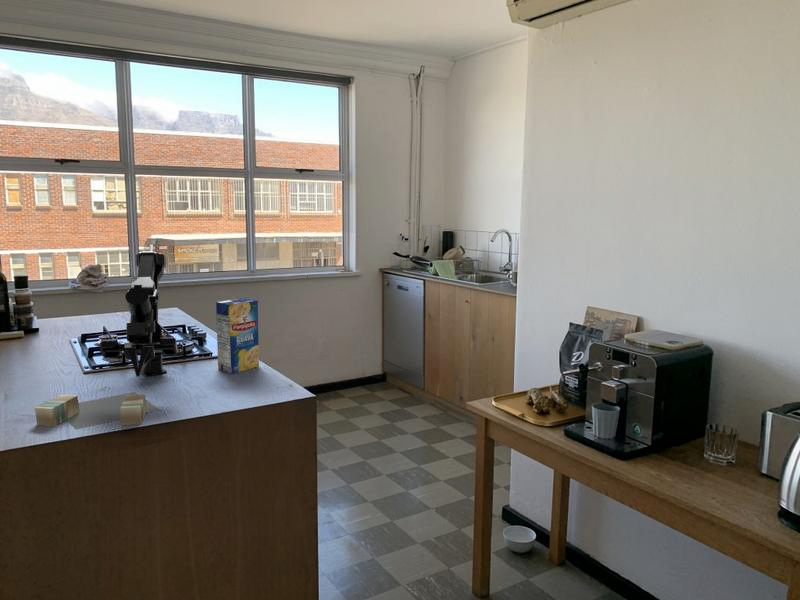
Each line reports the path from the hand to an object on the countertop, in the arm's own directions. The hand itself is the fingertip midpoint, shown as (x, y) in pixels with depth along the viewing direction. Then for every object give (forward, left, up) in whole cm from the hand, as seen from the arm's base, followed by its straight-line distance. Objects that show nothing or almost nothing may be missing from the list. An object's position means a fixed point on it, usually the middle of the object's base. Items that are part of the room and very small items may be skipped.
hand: (137, 375), depth 158 cm
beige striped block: (-5, -15, -6) cm, 17 cm away
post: (+5, -2, -5) cm, 8 cm away
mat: (-2, -7, -8) cm, 11 cm away
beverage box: (-15, +37, -8) cm, 41 cm away
